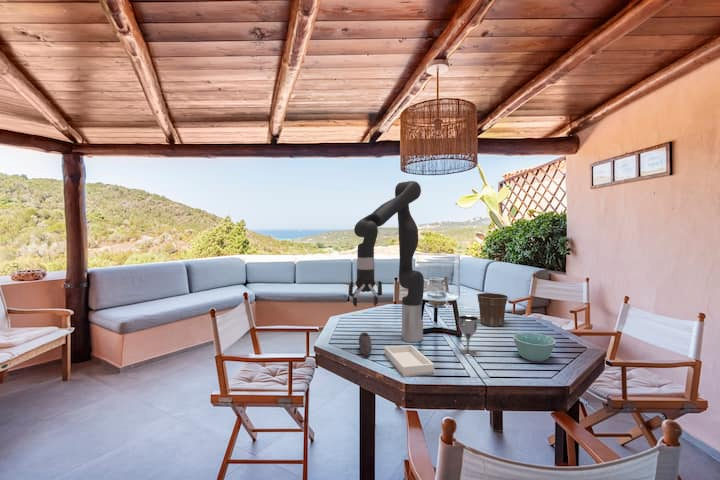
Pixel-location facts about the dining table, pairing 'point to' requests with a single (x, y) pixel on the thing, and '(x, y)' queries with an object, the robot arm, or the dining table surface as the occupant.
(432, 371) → the tray
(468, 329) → the wine glass
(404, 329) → the robot arm
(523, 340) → the bowl
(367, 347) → the perforated stone tool
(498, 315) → the plant pot
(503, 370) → the dining table surface
